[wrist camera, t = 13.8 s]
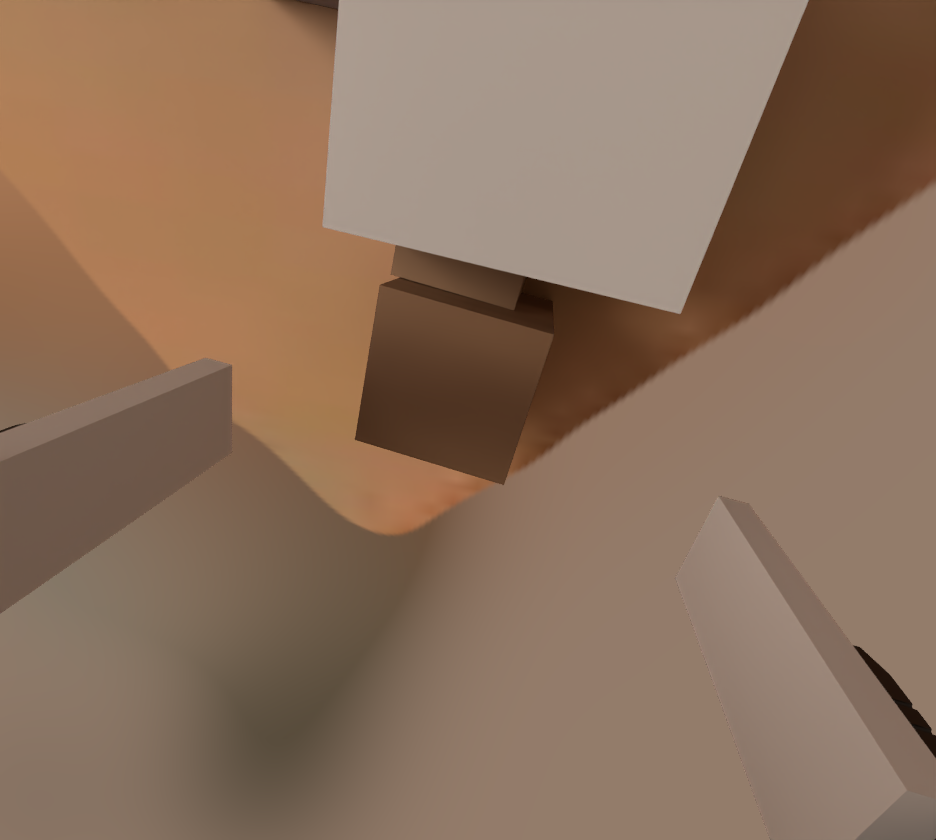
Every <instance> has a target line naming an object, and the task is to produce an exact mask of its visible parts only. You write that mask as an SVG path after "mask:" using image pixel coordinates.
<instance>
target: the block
mask: <svg viewBox="0 0 936 840" xmlns="http://www.w3.org/2000/svg"><path fill="white" fill-rule="evenodd" d="M553 337H554V323H553V303H552V301H549V300H545V299H542V298H538V297H535V296H531V295H528V294H524V293H521V295H520V297H519V300H518V302H517V305H516V307H515V309H514V310H510V309H507V308H503V307H500V306H497V305H493V304H490V303H486V302H483V301H480V300H476V299H473V298H469V297H466V296H463V295H459V294H456V293H452V292H449V291H445V290H442V289H439V288H435V287H432V286H428V285H425V284H422V283H418V282H415V281H411V280H408V279H405V278H398V279H395V280H392V281H389V282H387V283H384V284H381V285H380V287H379V293H378V300H377V306H376V312H375V318H374V324H373V331H372V337H371V343H370V349H369V356H368V362H367V368H366V374H365V381H364V387H363V393H362V399H361V405H360V412H359V418H358V424H357V430H356V437H355V440H358V441H361V442H364V443H367V444H371V445H374V446H377V447H381V448H384V449H387V450H390V451H394V452H397V453H400V454H404V455H407V456H410V457H414V458H417V459H420V460H423V461H427V462H430V463H433V464H437V465H440V466H443V467H446V468H450V469H453V470H456V471H460V472H463V473H466V474H469V475H473V476H476V477H479V478H483V479H486V480H489V481H492V482H496V483H499V484H502V485H504V483H505V480H506V477H507V474H508V471H509V468H510V465H511V462H512V459H513V456H514V453H515V450H516V447H517V444H518V441H519V438H520V435H521V432H522V429H523V426H524V423H525V420H526V417H527V414H528V411H529V408H530V405H531V402H532V399H533V396H534V393H535V390H536V387H537V384H538V381H539V378H540V375H541V372H542V369H543V366H544V363H545V361H546V358H547V355H548V352H549V349H550V346H551V343H552V340H553Z"/></svg>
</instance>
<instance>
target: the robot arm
mask: <svg viewBox="0 0 936 840" xmlns="http://www.w3.org/2000/svg"><path fill="white" fill-rule="evenodd" d="M231 453H232V365H230V364H227V363H223V362H219V361H216V360H212V359H208V358H204V359H201V360H198V361H196V362H193V363H190V364H187V365H185V366H182V367H179V368H176V369H174V370H171V371H168V372H165V373H163V374H160V375H157V376H154V377H152V378H149V379H147V380H144V381H141V382H138V383H135V384H133V385H130V386H127V387H124V388H122V389H119V390H116V391H114V392H111V393H108V394H105V395H102V396H100V397H97V398H94V399H92V400H89V401H86V402H83V403H81V404H78V405H75V406H72V407H70V408H67V409H64V410H61V411H59V412H56V413H53V414H50V415H48V416H45V417H42V418H39V419H37V420H34V421H31V422H29V423H24V424H19V425H15V426H12V427H9V428H6V429H4V430H1V431H0V613H2V612H3V611H5V610H6V609H7V608H9V607H10V606H12V605H13V604H15V603H16V602H17V601H19V600H20V599H22V598H23V597H25V596H26V595H28V594H29V593H31V592H32V591H33V590H35V589H36V588H38V587H39V586H41V585H42V584H44V583H45V582H46V581H48V580H49V579H51V578H52V577H53V576H55V575H57V574H58V573H59V572H61V571H62V570H64V569H65V568H67V567H68V566H69V565H71V564H72V563H74V562H75V561H77V560H78V559H80V558H81V557H82V556H84V555H85V554H86V553H88V552H90V551H91V550H92V549H94V548H95V547H97V546H98V545H100V544H101V543H102V542H104V541H105V540H107V539H108V538H110V537H111V536H113V535H114V534H116V533H117V532H118V531H120V530H121V529H123V528H124V527H126V526H127V525H128V524H130V523H131V522H133V521H134V520H136V519H137V518H139V517H140V516H141V515H143V514H144V513H146V512H147V511H149V510H150V509H152V508H153V507H154V506H156V505H157V504H159V503H160V502H162V501H163V500H165V499H166V498H167V497H169V496H170V495H172V494H173V493H175V492H176V491H178V490H179V489H180V488H182V487H183V486H185V485H186V484H188V483H189V482H190V481H192V480H193V479H195V478H196V477H198V476H199V475H201V474H202V473H203V472H205V471H206V470H208V469H209V468H211V467H212V466H213V465H215V464H216V463H218V462H219V461H221V460H222V459H223V458H225V457H226V456H228V455H229V454H231ZM675 579H676V582H677V585H678V588H679V590H680V593H681V596H682V599H683V601H684V604H685V607H686V610H687V612H688V615H689V618H690V621H691V623H692V626H693V629H694V632H695V634H696V637H697V640H698V643H699V646H700V648H701V651H702V654H703V657H704V659H705V662H706V665H707V667H708V670H709V673H710V676H711V678H712V681H713V684H714V687H715V690H716V692H717V695H718V698H719V701H720V703H721V706H722V709H723V712H724V714H725V717H726V720H727V723H728V725H729V728H730V731H731V734H732V736H733V739H734V742H735V745H736V747H737V750H738V753H739V756H740V759H741V761H742V764H743V767H744V769H745V772H746V775H747V778H748V781H749V783H750V786H751V789H752V791H753V794H754V797H755V800H756V803H757V805H758V808H759V811H760V814H761V816H762V819H763V822H764V825H765V827H766V830H767V833H768V836H769V838H770V840H936V736H935V735H932V733H931V728H930V726H929V725H928V724H927V722H926V721H925V720H924V718H923V717H922V716H921V715H920V713H919V712H918V711H917V710H915V709H913V708H912V703H911V702H910V700H909V699H908V698H907V696H906V695H905V694H904V692H903V691H902V690H901V689H900V687H899V686H898V685H897V683H896V682H895V681H894V679H893V678H892V677H891V676H890V675H889V673H887V672H886V671H885V670H884V669H883V668H882V667H881V666H880V665H879V664H878V663H876V662H875V661H874V660H873V659H872V658H871V657H870V656H869V655H868V654H867V653H866V652H864V651H863V650H862V649H861V648H860V647H857V646H853V645H852V644H851V642H850V641H849V640H848V638H847V637H846V636H845V634H844V633H843V631H842V630H841V629H840V627H839V626H838V625H837V623H836V622H835V620H834V619H833V618H832V617H831V615H830V614H829V612H828V611H827V610H826V608H825V607H824V605H823V604H822V603H821V602H820V600H819V599H818V598H817V596H816V595H815V593H814V592H813V591H812V589H811V588H810V586H809V585H808V584H807V582H806V581H805V580H804V578H803V577H802V576H801V574H800V573H799V571H798V570H797V569H796V567H795V566H794V565H793V563H792V562H791V561H790V559H789V558H788V557H787V555H786V554H785V552H784V551H783V550H782V548H781V547H780V546H779V544H778V543H777V541H776V540H775V539H774V537H773V536H772V535H771V533H770V532H769V531H768V529H767V528H766V527H765V525H764V524H763V522H762V521H761V520H760V518H759V517H758V516H757V514H756V513H755V512H754V510H753V509H752V507H751V506H750V505H749V504H748V503H744V502H740V501H736V500H733V499H729V498H725V497H722V496H718V497H717V499H716V501H715V503H714V505H713V507H712V509H711V510H710V512H709V514H708V516H707V518H706V520H705V522H704V524H703V526H702V528H701V530H700V531H699V534H698V535H697V537H696V539H695V541H694V543H693V545H692V547H691V549H690V551H689V552H688V554H687V556H686V558H685V560H684V562H683V564H682V566H681V568H680V570H679V572H678V574H677V575H676V577H675Z"/></svg>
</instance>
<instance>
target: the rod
mask: <svg viewBox="0 0 936 840" xmlns="http://www.w3.org/2000/svg"><path fill="white" fill-rule="evenodd" d="M391 275H394V276H398V277H401V278H405V279H408V280H411V281H415V282H418V283H422V284H425V285H428V286H432V287H435V288H439V289H442V290H445V291H449V292H452V293H456V294H459V295H463V296H466V297H469V298H473V299H476V300H480V301H483V302H486V303H490V304H493V305H497V306H500V307H503V308H507V309H510V310H514V309H515V307H516V305H517V302H518V300H519V297H520V295H521V292H522V289H523V286H524V282H525V279H526V276H522V275H518V274H514V273H509V272H505V271H501V270H497V269H493V268H489V267H485V266H481V265H477V264H472V263H468V262H464V261H460V260H456V259H452V258H448V257H444V256H440V255H435V254H431V253H427V252H423V251H419V250H415V249H411V248H407V247H403V246H398V245H396V247H395V253H394V259H393V264H392V270H391Z"/></svg>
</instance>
